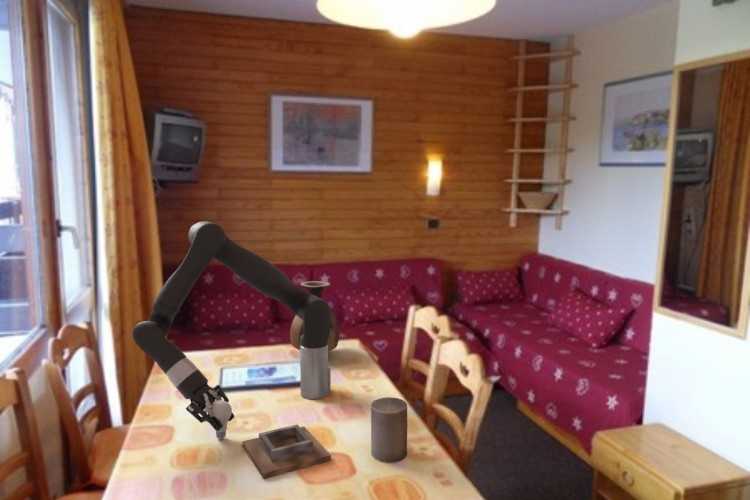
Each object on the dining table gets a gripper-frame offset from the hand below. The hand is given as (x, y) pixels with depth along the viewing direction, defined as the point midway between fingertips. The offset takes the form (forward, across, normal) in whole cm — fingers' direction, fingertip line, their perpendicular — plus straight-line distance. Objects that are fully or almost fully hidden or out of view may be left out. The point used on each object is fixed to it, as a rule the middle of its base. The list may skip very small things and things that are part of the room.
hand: (226, 423), depth 151 cm
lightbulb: (+2, 0, +5) cm, 5 cm away
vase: (+2, +71, +5) cm, 71 cm away
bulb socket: (+17, -2, -10) cm, 19 cm away
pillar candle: (+35, +6, -28) cm, 46 cm away
